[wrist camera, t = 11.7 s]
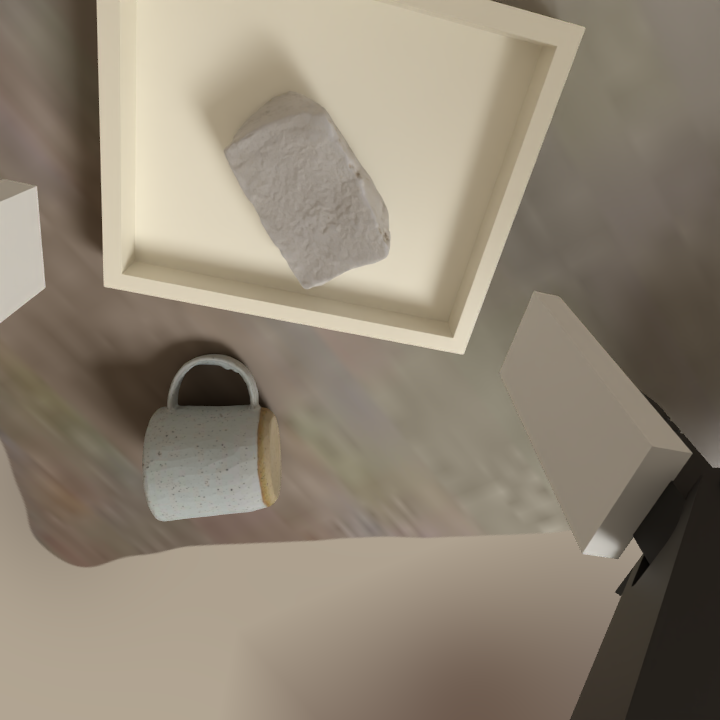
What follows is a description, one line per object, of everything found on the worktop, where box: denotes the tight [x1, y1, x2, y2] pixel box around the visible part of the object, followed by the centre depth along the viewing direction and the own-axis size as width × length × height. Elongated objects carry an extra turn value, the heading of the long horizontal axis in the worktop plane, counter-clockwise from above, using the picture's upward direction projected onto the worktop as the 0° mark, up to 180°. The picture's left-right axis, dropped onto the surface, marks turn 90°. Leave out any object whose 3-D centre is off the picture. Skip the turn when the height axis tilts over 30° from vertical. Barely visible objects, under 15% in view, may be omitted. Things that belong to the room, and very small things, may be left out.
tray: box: [97, 0, 586, 355], centre depth 29 cm, size 22×18×3 cm
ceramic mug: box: [142, 354, 281, 521], centre depth 36 cm, size 11×8×8 cm
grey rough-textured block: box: [224, 91, 391, 289], centre depth 28 cm, size 10×6×6 cm, turn 22°
